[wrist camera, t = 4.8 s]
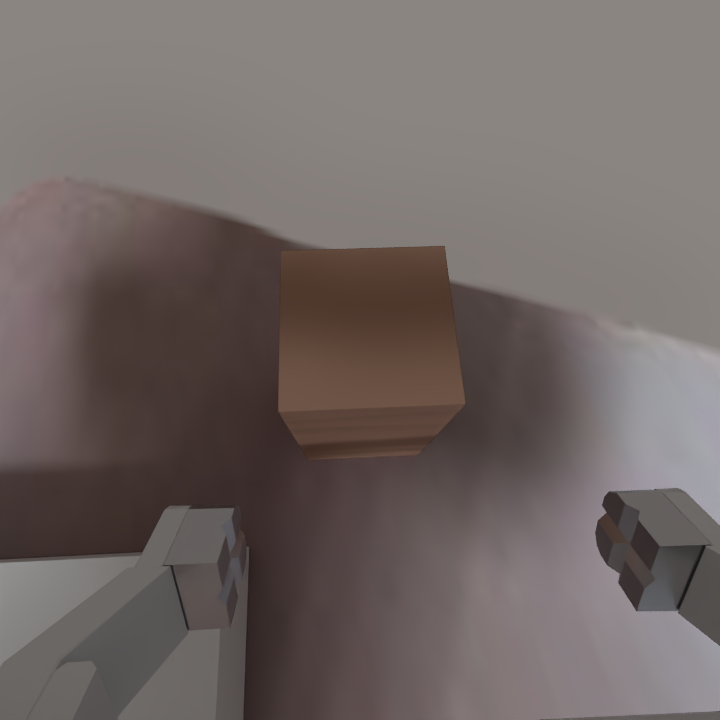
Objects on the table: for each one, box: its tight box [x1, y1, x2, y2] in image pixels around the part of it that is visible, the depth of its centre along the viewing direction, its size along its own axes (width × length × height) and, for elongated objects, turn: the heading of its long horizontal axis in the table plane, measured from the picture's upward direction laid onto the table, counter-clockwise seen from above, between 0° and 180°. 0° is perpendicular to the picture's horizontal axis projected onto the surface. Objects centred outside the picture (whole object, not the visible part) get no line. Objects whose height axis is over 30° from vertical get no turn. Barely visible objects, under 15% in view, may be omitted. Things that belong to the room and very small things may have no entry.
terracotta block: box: [278, 246, 466, 460], centre depth 17 cm, size 5×5×9 cm
